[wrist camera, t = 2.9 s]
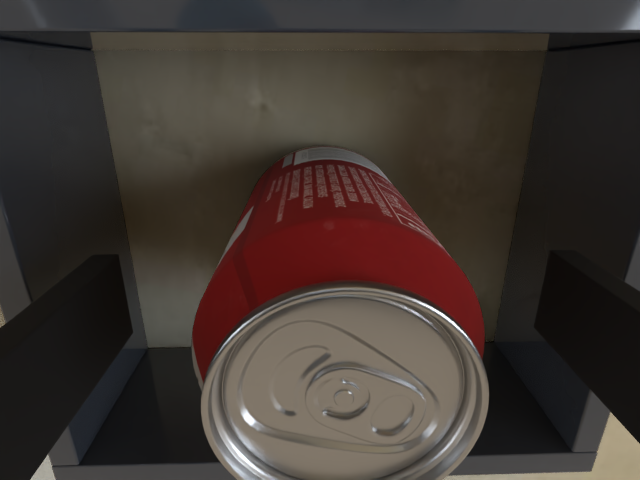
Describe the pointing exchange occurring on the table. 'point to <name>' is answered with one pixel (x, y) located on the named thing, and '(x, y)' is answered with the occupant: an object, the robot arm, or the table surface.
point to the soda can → (338, 333)
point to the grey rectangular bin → (319, 34)
